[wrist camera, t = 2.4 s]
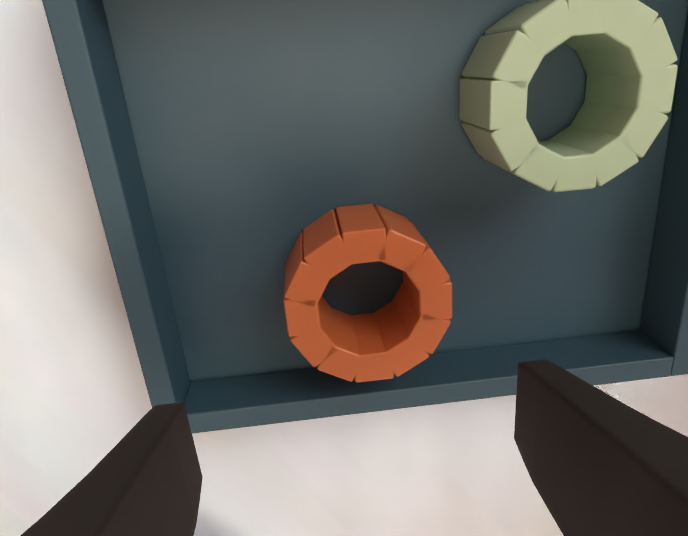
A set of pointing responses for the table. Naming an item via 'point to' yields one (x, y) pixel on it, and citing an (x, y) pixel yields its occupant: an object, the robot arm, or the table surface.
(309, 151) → the dark teal tray
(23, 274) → the table surface
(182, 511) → the robot arm
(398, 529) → the table surface
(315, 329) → the copper ring
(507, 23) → the sage ring
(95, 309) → the table surface
